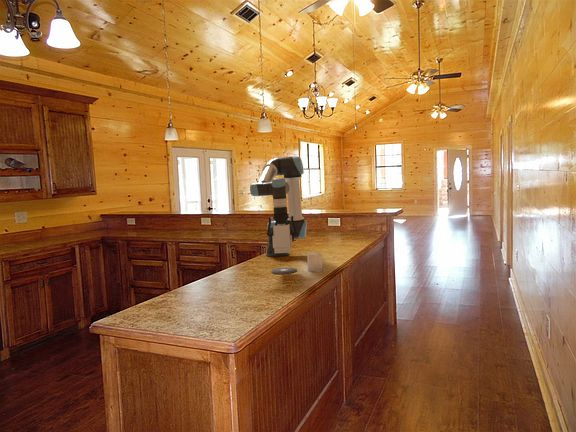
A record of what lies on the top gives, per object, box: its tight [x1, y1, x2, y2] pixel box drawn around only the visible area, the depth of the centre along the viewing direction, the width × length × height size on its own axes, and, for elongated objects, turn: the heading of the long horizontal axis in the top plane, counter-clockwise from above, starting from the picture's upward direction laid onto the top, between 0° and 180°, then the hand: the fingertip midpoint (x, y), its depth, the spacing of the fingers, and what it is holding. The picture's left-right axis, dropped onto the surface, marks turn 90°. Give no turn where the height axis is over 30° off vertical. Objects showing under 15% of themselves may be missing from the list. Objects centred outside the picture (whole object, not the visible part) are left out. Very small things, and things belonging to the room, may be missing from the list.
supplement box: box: [273, 224, 292, 253], centre depth 234 cm, size 9×9×15 cm
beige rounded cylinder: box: [306, 252, 324, 273], centre depth 233 cm, size 8×8×9 cm
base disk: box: [271, 266, 298, 275], centre depth 236 cm, size 14×14×1 cm
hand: (282, 247), depth 234 cm, fingers closed on supplement box, 9 cm apart
